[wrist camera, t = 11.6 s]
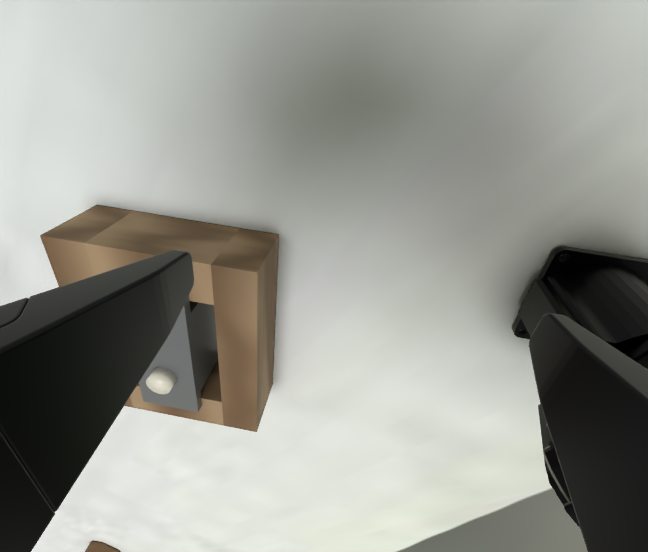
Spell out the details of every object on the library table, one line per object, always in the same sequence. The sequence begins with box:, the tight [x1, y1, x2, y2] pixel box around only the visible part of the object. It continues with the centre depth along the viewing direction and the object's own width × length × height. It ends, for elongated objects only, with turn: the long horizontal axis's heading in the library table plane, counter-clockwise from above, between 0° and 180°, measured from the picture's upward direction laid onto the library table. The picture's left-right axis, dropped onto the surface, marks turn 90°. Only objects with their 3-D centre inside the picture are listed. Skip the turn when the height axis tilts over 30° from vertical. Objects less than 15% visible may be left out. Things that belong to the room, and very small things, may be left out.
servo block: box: [139, 296, 218, 412], centre depth 24 cm, size 4×10×6 cm, turn 173°
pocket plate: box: [40, 205, 279, 432], centre depth 24 cm, size 12×14×4 cm
